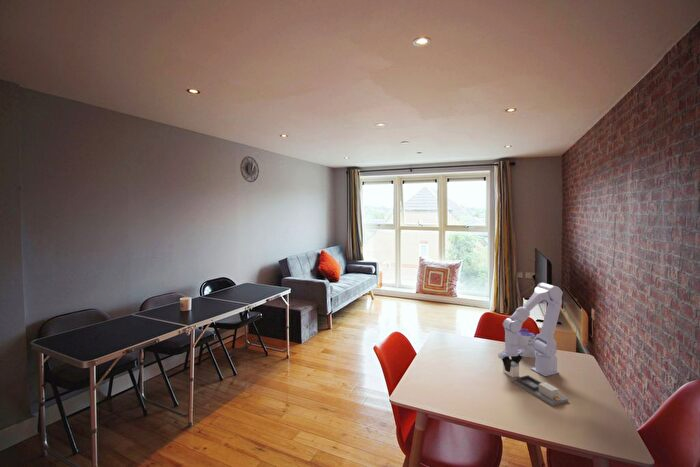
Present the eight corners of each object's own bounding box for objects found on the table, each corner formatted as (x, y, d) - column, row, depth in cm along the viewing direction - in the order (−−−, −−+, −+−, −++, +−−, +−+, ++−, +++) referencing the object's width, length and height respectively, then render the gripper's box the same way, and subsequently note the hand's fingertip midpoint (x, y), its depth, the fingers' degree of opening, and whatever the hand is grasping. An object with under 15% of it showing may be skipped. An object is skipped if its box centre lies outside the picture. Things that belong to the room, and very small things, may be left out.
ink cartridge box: (533, 354, 176) (534, 328, 175) (535, 358, 171) (536, 332, 170) (513, 351, 179) (514, 327, 179) (515, 356, 174) (516, 330, 173)
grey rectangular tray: (526, 378, 150) (526, 369, 150) (568, 401, 132) (568, 391, 131) (512, 382, 147) (512, 372, 147) (552, 406, 129) (553, 395, 128)
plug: (509, 370, 158) (509, 358, 158) (519, 376, 153) (519, 364, 152) (502, 371, 157) (503, 360, 157) (512, 377, 151) (513, 365, 151)
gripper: (515, 338, 160) (515, 363, 161) (493, 342, 155) (493, 369, 156) (527, 343, 154) (527, 370, 154) (505, 348, 149) (504, 375, 149)
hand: (511, 370), depth 155 cm, fingers closed on plug, 4 cm apart
